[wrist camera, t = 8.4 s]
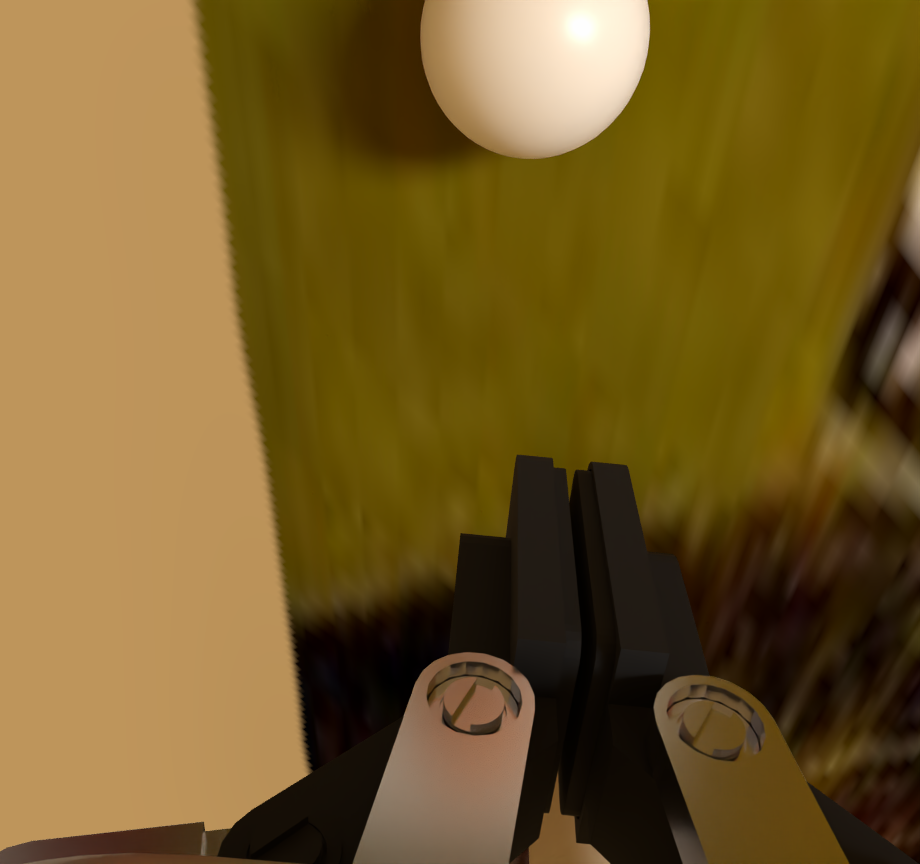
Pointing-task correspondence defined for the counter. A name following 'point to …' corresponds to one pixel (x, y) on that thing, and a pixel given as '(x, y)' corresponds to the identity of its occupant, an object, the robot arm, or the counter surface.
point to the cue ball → (533, 68)
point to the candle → (561, 840)
